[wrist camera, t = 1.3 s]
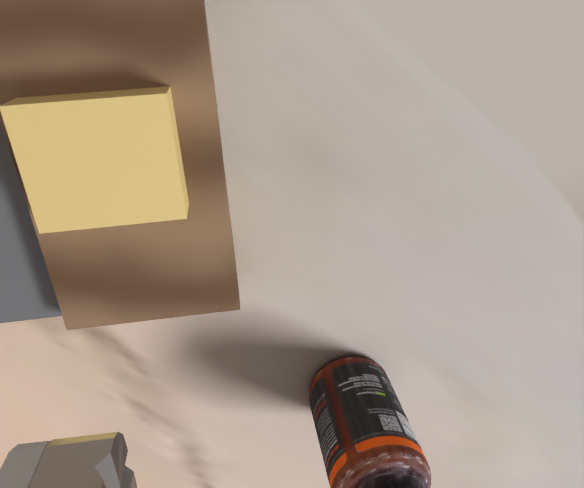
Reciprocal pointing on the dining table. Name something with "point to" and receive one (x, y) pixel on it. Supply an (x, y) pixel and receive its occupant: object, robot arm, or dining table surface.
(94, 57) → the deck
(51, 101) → the pale yellow flat block
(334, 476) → the supplement bottle
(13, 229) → the mat
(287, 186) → the dining table surface
